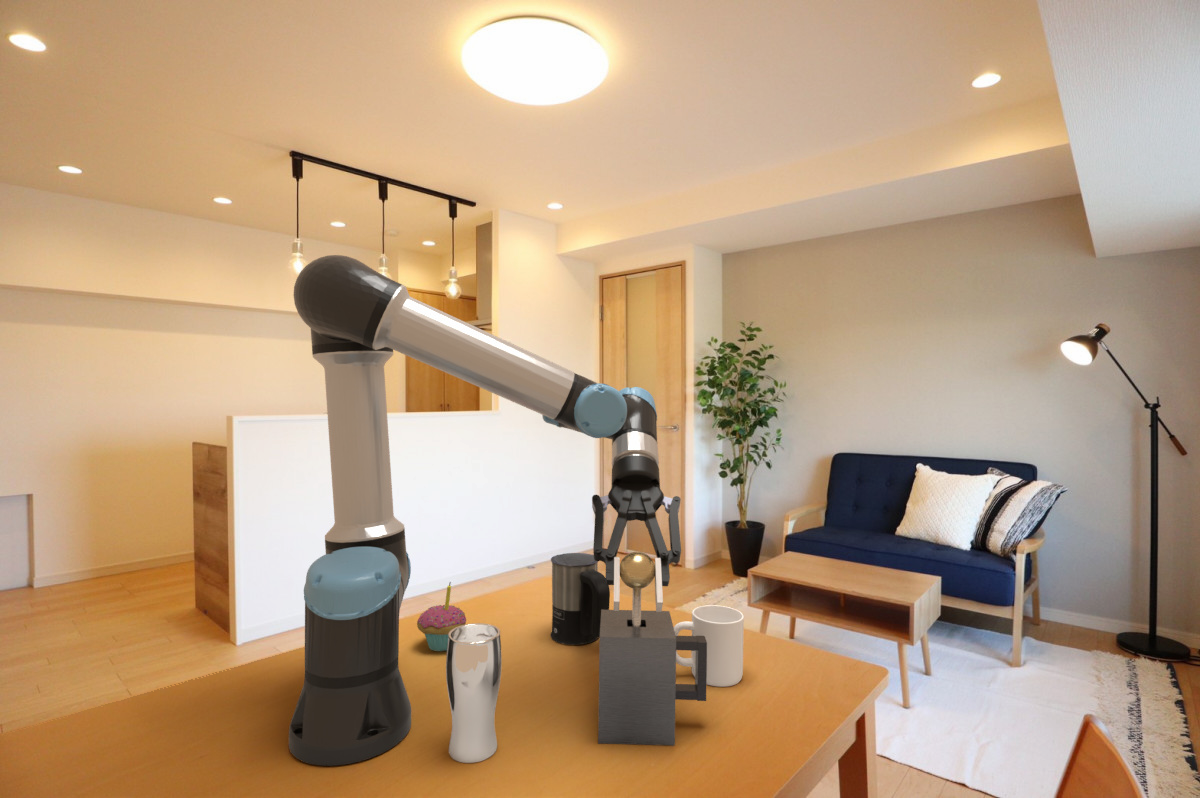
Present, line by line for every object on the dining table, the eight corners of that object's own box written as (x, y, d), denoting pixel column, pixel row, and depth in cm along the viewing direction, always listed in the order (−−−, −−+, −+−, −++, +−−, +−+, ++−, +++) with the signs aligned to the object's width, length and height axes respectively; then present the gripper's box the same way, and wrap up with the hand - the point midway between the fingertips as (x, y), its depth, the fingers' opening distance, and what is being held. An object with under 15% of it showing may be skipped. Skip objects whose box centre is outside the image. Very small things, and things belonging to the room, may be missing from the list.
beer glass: (473, 772, 73) (475, 648, 72) (433, 753, 76) (434, 635, 76) (511, 744, 78) (513, 629, 78) (472, 728, 82) (473, 618, 82)
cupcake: (475, 643, 110) (476, 577, 110) (440, 660, 103) (441, 590, 103) (442, 633, 115) (443, 570, 114) (406, 648, 107) (407, 581, 107)
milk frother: (539, 638, 113) (540, 559, 113) (589, 613, 126) (589, 542, 126) (601, 658, 105) (602, 572, 105) (648, 629, 118) (649, 553, 118)
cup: (749, 687, 95) (750, 622, 95) (674, 688, 94) (674, 623, 94) (734, 663, 103) (735, 604, 103) (664, 665, 102) (665, 605, 102)
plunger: (606, 724, 80) (608, 559, 80) (606, 694, 88) (608, 544, 88) (666, 726, 80) (668, 560, 80) (661, 695, 88) (663, 545, 88)
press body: (598, 743, 79) (599, 636, 79) (600, 704, 89) (601, 609, 89) (710, 746, 79) (711, 639, 79) (699, 706, 89) (700, 611, 89)
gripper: (689, 482, 99) (702, 620, 82) (579, 481, 99) (571, 617, 83) (694, 453, 93) (709, 594, 77) (578, 451, 94) (568, 591, 78)
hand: (637, 606), depth 80 cm, fingers closed on plunger, 5 cm apart
